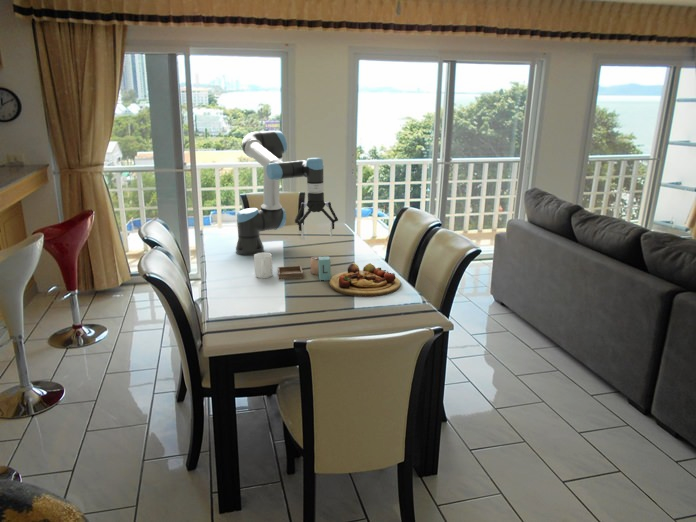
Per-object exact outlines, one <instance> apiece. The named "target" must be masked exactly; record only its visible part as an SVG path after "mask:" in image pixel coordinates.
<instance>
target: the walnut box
mask: <svg viewBox="0 0 696 522" xmlns="http://www.w3.org/2000/svg"><path fill="white" fill-rule="evenodd" d="M277 276H278V278H277V279H278V280H292V279H304V271H303V269H302V265H293V266H291V265H290V266H277Z"/></svg>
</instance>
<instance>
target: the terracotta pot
mask: <svg viewBox="0 0 696 522" xmlns="http://www.w3.org/2000/svg"><path fill="white" fill-rule="evenodd" d="M318 257H322V256H320V255H319V256H316V255H315V256H311V258H310V273H311V274H312V275H318V276H319V267H318Z"/></svg>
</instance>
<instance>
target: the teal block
mask: <svg viewBox="0 0 696 522" xmlns="http://www.w3.org/2000/svg"><path fill="white" fill-rule="evenodd" d="M318 267H319V275H318V279H319V281H321V280H324V281H330V279H331V278H332V277H331V276H332V274H331V258H330V256H327V255H326V256H321V257H318ZM321 282H322V281H321Z"/></svg>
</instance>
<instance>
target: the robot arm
mask: <svg viewBox="0 0 696 522" xmlns="http://www.w3.org/2000/svg"><path fill="white" fill-rule="evenodd" d="M241 149H242V151H243V153H244V154H245V155H246V156H248V158H251V159H252V158H253V159H254V160H255V161H256V162H257V164H258V163H259V165H261V166H262V167H263V173H262V175H263V203H262V204H260V210H259V209H258V208H257V207H249V208H248V207H247V208H244V209H243V208H242V210H239V211H238V212H237V214H236V223H237V237H238V238H237V243H236V247H235V252H236V254H238V255H241V256H242V255H244V256H252V255H253V256H254V255H255V254H257V253H264V251H265V250H264V249H265V248H264V245H263V241H262V240H261V235H260V234H261V232H266V231H273V230H274V231H276V230H279V229H282V228H283V227H284V226H285V225H286V221H287V212H286V210H285V208H284V207H283V206H282V204H281V202H280V180H285V179H297V178H306V181H307V182H306V185H307V186H306V187H307V188H306V189H307V202H301V203H300V208H299V210H298V213H297V215H296V216H295V219H294V223H295V224H298V231H300V232H301V234H300V235H301V238H302V239H304V236H305V235H304V223H303V222H304V221H305V220H306V218H307V217H308V216H309V215H310V214H311V213H321V212H322V213H323V214H324V215H325V217H327V218H328V219H329V236H330V237H333V230H334V229H335V223H337V222H338V221H339V219H338V217H337V215H336V213H335V211H334V209H333V207H332V203H331V201H327V202H326V201H325V193H324V191H325V189H324V187H325V186H324V160H323V158H321V157H307V159H298V160H295V161H282V160H281V159H283V154H285V153H286V152H287V150H288V143H287V139H286V137H285V135H284V134H283V132H282V131H279V130H266V131H265V130H263V131H253V132H249V133H247V134H246V135H245V136H244V138H243V139H242V142H241ZM325 206H326V207H328V209H329V211H330V213H331V215H332V216H333V217H332V216H331V215H330V214H329V213H328V212H327V211H326V210H325V209H324V207H325ZM306 207H307V208H308V209H306V212H305V213H304V214H303V215H302V213H303V211H304V208H306ZM301 216H302V217H301Z"/></svg>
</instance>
